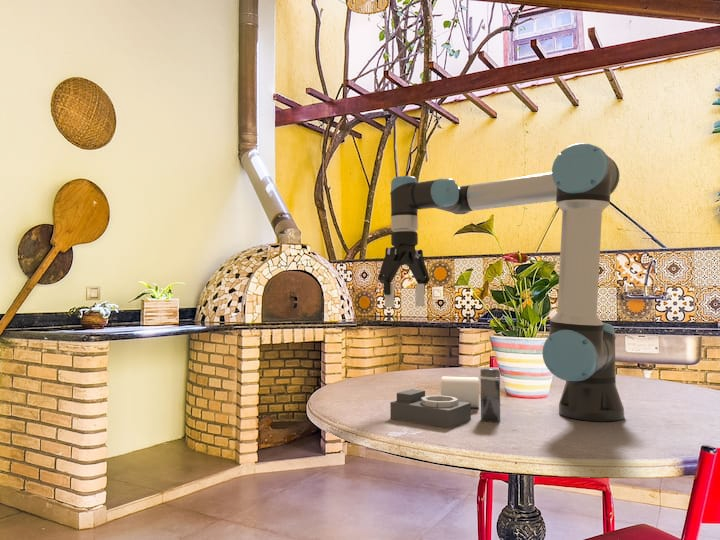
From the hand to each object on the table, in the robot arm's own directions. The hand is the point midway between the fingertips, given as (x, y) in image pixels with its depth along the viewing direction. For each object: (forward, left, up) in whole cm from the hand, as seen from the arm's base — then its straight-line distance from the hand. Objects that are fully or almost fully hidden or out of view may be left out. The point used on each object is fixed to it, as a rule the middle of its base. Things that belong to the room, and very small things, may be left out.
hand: (405, 306), depth 158 cm
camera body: (-16, +14, -27) cm, 34 cm away
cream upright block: (-14, -6, -27) cm, 31 cm away
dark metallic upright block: (-28, +6, -27) cm, 39 cm away
